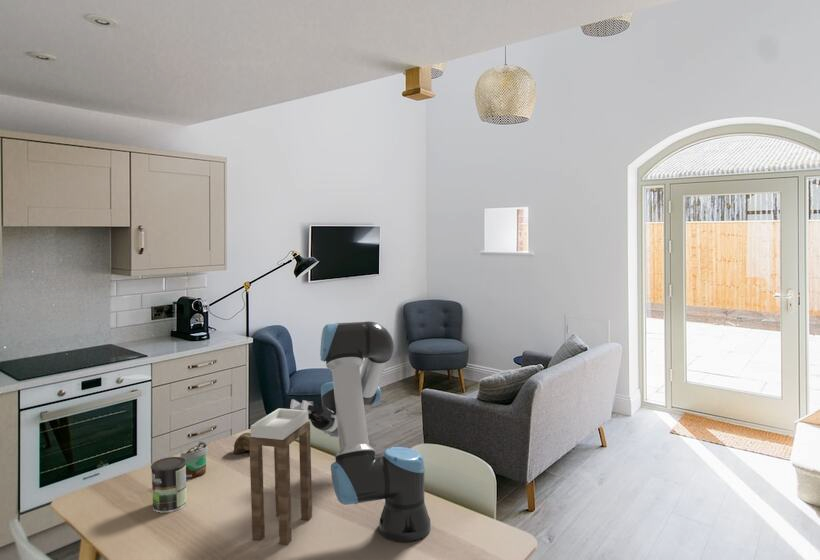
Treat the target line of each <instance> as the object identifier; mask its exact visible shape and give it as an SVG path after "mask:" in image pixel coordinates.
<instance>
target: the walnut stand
mask: <svg viewBox="0 0 820 560" xmlns="http://www.w3.org/2000/svg"><path fill="white" fill-rule="evenodd" d="M296 440H298V441H299V445H298V447H299V451H298V452H299V482H300V486H299V488H300V491H299V492H300V521H305V522H306V521H307V522H309V521H310V520H311V519H312V518H313V500H312V499H313V497H312V496H313V495H312V494H313V493H312V492H313V491H312V490H313V488H312V457H311V456H312V455H311V454H312V452H311V451H312V450H311V449H312V448H311V421H308V422H306V423H305V424H304V425H302V426H301V427H300V428H298V429H297V430H296V431H294V432H293V433H292V434H290V435H289V436H288V437H286V438H285V439H284V440H278V439H268V438H257V437H249V446H250V451H249V470H250V471H249V473H250V474H249V475H250V503H251V505H250V506H251V535H252V541H255V542H256V541H257V542H261V541H262V540H263V539H264V538H265V537H266V535H265V534H266V528H265V495H264V490H265V489H264V462H263V461H264V460H263V457H264V456H263V447H271V448H273V454H274V455H273V457H274V460H273V461H274V488H275V491H274V492H275V493H274V494H275V496H274V497H275V517H277V518H278V534H279V535H278V539H279V540H278V541H279V543H278V544H279V545H283V546H289V545H290V543H291V542H292V541H293V538H292V537H293V535H292V506H291V505H292V501H291V499H292V497H291V495H292V494H291V461H290V460H291V459H290V445H291V444H292V443H293V442H295V441H296Z"/></svg>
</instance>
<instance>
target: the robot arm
mask: <svg viewBox="0 0 820 560" xmlns="http://www.w3.org/2000/svg"><path fill="white" fill-rule="evenodd" d="M394 348H395V345H394V339H393V336H392V335H391V333H390V331H388V330H387V328H385V327H384V326H383V325H382V324H379V323H377V322H374V321H368V320H367V321H357V322H356V321H354V322H353V321H352V322H336V323H329V324H325V325H324V326H323V328H322V332H321V337H320V350H319V351H320V353H319V357H320V361H321V362H325V365H326V366H325V367H326V368H327V369H328V370H329V371H331V376H332V381H329V382H324V383H323V384H322V385H321V386H320V395H321V396H320V398H321V405H322V406H318V403H314V402H313V405H312V404H310V403H308V402H307V401H308V400H304V399H302V402H299V401H298V400H296V399H294V398H293V399H292V398H291V401H290V407H289V409H293V408H295V407H296V406H298V405H299V404H301V403H302V406H301V409H302V410H306V411H308V419H309V422H310V424H311V425H312V426H313V427H314V429H317V430H319V431H322V432H323V433H324V435H329V437H330V436H331V437H334V438H338V443H339V444H338V445H339V450H338V452H337V453H336V454H335V456H334V457H335V459H334V460H335V461H334V462H332V463H331V464H330V473H331V483H332V485H333V491H334V493H335V496H336V499H337V501H338V502H339V503H340V504H341V505H357V504H362V503H368V502H375V501H381V500H384V505H383V509H382V511H381V514H380V517H379V523H378V525H379V526H378V527H379V533H380V532H381V535H382V536H383V537H384V538H386V539H387V540H390V541H392V542H393V541H394V542H397V543H398V542H400V543H409V541H411V542H416V541H419V540H421V538H422V539H423V538H425V537H426V536H428V534H430V532H431V529H432V528H431V527H432V525H431V517H430V515H429V512H428V509H427V506H426V503H425V471H426V469H425V460H424V456H423V455H422V454H421V453H420V452H419V451H417V450H416V449H413V448H409V447H406V446H405V447H404V446H393V447H389V448H386V449H385V450H384V453H383V455H381V456H376V449H374V448H373V447H372V446H371V445H370V442H369V436H368V435H369V433H368V426H367V425H368V424H367V418H366V410H365V407H367V406H373V405H378V404H380V402H381V400H382V399H381V398H382V392H381V388H380V382H381V379H382V376H383V373H384V370H385V367H386V365H387V363H388V362H389V361H390V360H391V359H392V356H393V354H394V351H395V349H394ZM361 366H362V367H361ZM360 368H361V370H360ZM415 540H416V541H415Z"/></svg>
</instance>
